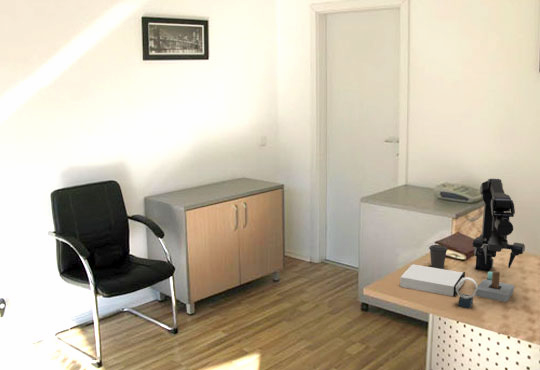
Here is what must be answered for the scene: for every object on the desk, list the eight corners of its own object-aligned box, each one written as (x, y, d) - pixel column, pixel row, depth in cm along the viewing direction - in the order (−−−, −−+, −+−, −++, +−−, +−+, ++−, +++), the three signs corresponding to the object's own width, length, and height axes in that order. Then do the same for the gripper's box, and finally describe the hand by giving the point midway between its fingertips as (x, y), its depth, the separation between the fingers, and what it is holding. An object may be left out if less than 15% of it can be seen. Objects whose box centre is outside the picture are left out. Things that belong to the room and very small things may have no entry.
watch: (456, 300, 239) (457, 273, 237) (477, 304, 236) (479, 277, 233) (453, 305, 234) (454, 278, 232) (474, 309, 231) (476, 282, 228)
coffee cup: (432, 262, 281) (433, 242, 279) (449, 266, 276) (450, 245, 274) (425, 268, 274) (426, 246, 272) (442, 271, 270) (444, 250, 268)
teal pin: (486, 284, 255) (486, 273, 254) (487, 282, 258) (488, 271, 256) (493, 285, 254) (493, 274, 253) (494, 283, 256) (495, 272, 255)
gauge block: (475, 295, 244) (475, 288, 243) (483, 286, 253) (483, 279, 253) (507, 302, 237) (507, 295, 237) (513, 291, 247) (514, 285, 246)
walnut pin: (490, 294, 245) (491, 273, 243) (491, 292, 247) (493, 271, 245) (497, 295, 243) (499, 274, 241) (499, 293, 246) (500, 272, 244)
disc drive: (455, 298, 243) (455, 286, 242) (399, 287, 253) (400, 276, 252) (464, 283, 258) (465, 272, 257) (412, 274, 268) (412, 263, 267)
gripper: (470, 229, 238) (467, 267, 241) (520, 237, 228) (517, 276, 231) (477, 222, 247) (475, 259, 250) (526, 229, 237) (523, 267, 240)
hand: (496, 265), depth 243 cm, fingers open, 9 cm apart
